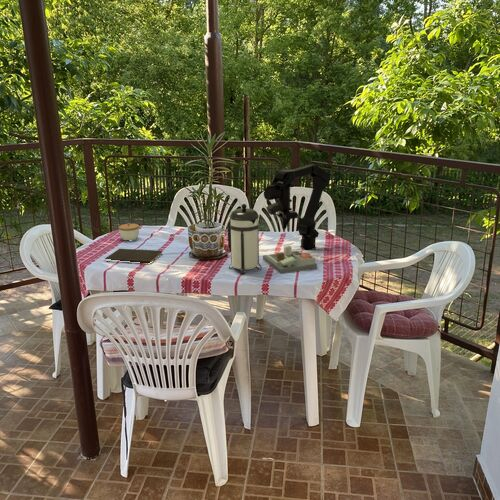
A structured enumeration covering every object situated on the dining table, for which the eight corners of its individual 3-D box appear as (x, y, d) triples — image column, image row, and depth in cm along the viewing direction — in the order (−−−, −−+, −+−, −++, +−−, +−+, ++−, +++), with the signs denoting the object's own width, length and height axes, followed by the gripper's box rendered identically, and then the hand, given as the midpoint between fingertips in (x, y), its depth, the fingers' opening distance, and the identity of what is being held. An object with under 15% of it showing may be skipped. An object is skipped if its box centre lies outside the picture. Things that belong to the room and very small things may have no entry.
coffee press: (265, 263, 240) (264, 200, 231) (257, 275, 225) (257, 208, 216) (229, 261, 244) (227, 199, 235) (219, 273, 229) (217, 206, 220)
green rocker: (292, 258, 233) (291, 256, 232) (295, 260, 230) (295, 258, 229) (280, 263, 231) (279, 261, 231) (283, 265, 228) (282, 263, 228)
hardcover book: (119, 252, 261) (119, 248, 261) (162, 255, 257) (162, 250, 256) (105, 263, 246) (104, 258, 246) (150, 265, 242) (150, 261, 241)
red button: (307, 260, 237) (307, 253, 236) (311, 262, 233) (311, 255, 232) (299, 261, 235) (299, 254, 234) (303, 264, 232) (303, 256, 231)
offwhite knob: (289, 253, 247) (289, 245, 246) (291, 255, 245) (291, 247, 244) (283, 254, 246) (283, 246, 245) (285, 256, 244) (285, 247, 243)
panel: (297, 255, 252) (297, 245, 250) (317, 268, 233) (317, 257, 232) (262, 259, 246) (262, 249, 245) (280, 273, 227) (280, 262, 226)
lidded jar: (137, 242, 276) (136, 225, 274) (117, 242, 277) (116, 225, 274) (141, 237, 287) (140, 220, 284) (122, 237, 287) (121, 220, 284)
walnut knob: (282, 260, 238) (282, 252, 237) (284, 262, 236) (284, 253, 235) (276, 261, 237) (276, 252, 236) (278, 262, 235) (278, 254, 234)
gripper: (260, 195, 250) (261, 226, 255) (276, 202, 233) (276, 236, 238) (281, 193, 254) (281, 223, 258) (298, 200, 237) (298, 233, 242)
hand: (284, 229), depth 249 cm, fingers closed
